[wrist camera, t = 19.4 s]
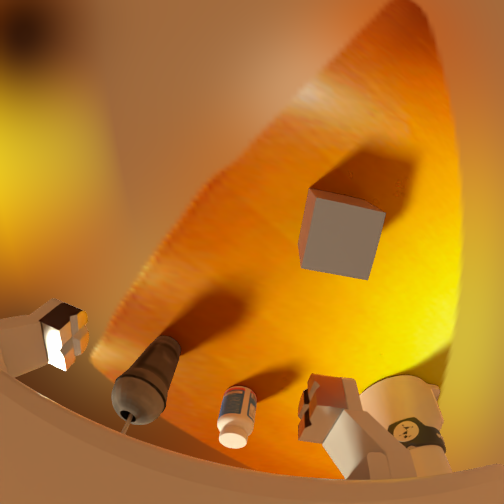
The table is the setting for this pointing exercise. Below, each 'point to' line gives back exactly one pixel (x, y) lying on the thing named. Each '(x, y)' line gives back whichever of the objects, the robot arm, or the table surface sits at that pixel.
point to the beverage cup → (146, 383)
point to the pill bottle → (237, 416)
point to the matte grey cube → (339, 234)
